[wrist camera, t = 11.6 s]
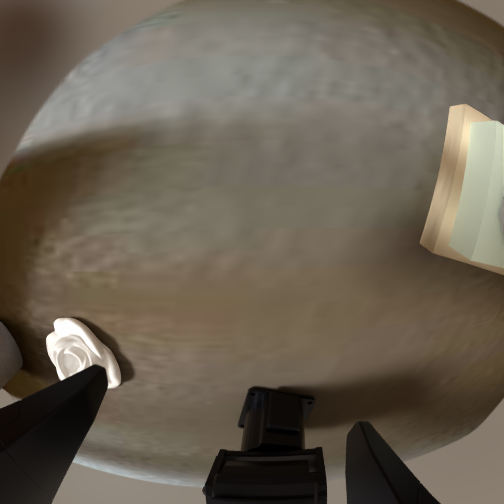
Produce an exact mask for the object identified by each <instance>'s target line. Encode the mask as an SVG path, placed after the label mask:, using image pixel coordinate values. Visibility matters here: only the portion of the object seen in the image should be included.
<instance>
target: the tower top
mask: <svg viewBox="0 0 504 504" xmlns="http://www.w3.org/2000/svg"><path fill="white" fill-rule="evenodd" d="M503 197H504V125H503V124H501V123H499V122H498V121H483V122H471V123H470V135H469V145H468V153H467V161H466V168H465V174H464V180H463V185H462V191H461V196H460V201H459V205H458V210H457V214H456V218H455V222H454V226H453V230H452V234H451V238H450V241H449V245H448V246H450V247H451V248H453V249H454V250H456V251H457V252H459V253H461V254H462V255H464V256H465V257H467V258H468V259H469V260H471V261H475V262H480V263H484V264H488V265H493V266H497V267H501V268H504V234H503V230H502V227H501V223H500V219H499V216H498V214H499V211H500V207H501V204H502V201H503Z"/></svg>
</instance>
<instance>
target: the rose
mask: <svg viewBox="0 0 504 504" xmlns="http://www.w3.org/2000/svg"><path fill="white" fill-rule="evenodd" d="M54 327H55V331H54V332H52V333H50V334H49V335H48V336H47V338H46V344H47V351H48V354H49V357H50V359H51V361H52V362H53V363H54V365H55V367H56V368H57V373H58V376H59V378H60V380H63V379H65V378H67V377H69V376H71V375H73V374H75V373H77V372H79V371H81V370H84V369H86V368H88V367H90V366H92V365H94V364H98V365H100V366H102V367H104V368H105V369H106V372H107V378H108V388H116V387H117V386H118V385H120V383H121V373H120V369H119V366H118V363H117V361H116V358H115V356H114V355H113V353H112V351H111V350H110V349H109V348H108V347H107V346H105V345H104V344H103V343H102V342H101V341H100V340H99V339H98V338H97V337H96V336H95V335H94V333H93V332H92V331H91V330H90V329H89V328H88V327H87V326H86V325H85V324H83V323H82V322H80V321H78V320H76V319H74V318H58V319H57V320H55V322H54Z"/></svg>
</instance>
